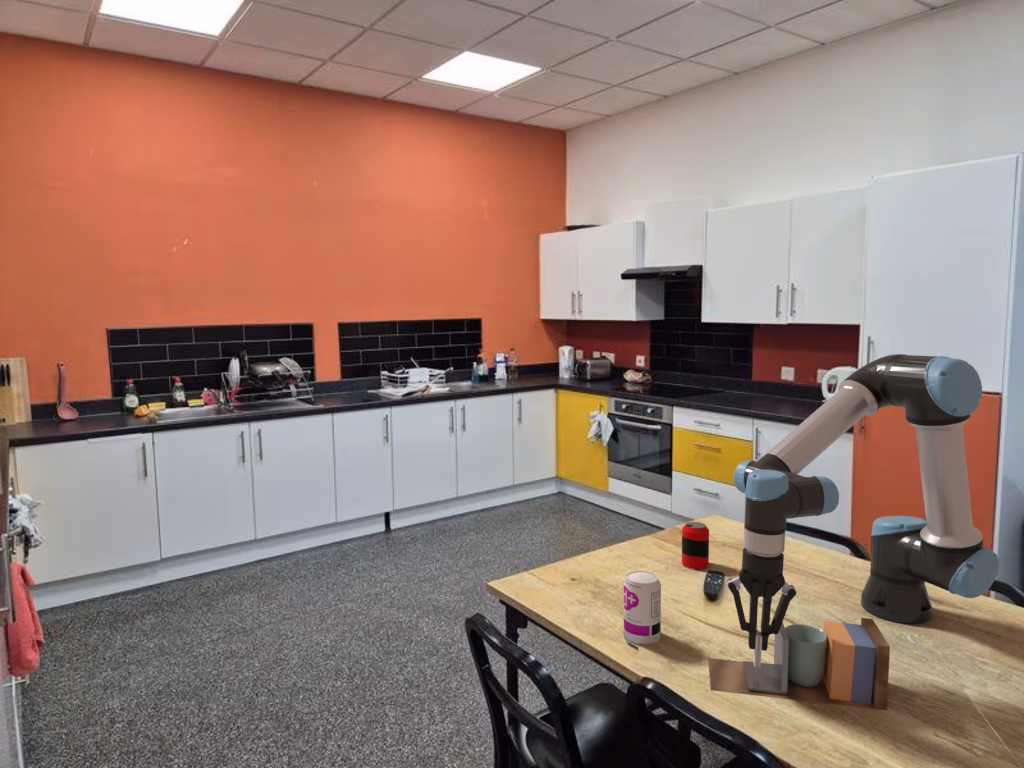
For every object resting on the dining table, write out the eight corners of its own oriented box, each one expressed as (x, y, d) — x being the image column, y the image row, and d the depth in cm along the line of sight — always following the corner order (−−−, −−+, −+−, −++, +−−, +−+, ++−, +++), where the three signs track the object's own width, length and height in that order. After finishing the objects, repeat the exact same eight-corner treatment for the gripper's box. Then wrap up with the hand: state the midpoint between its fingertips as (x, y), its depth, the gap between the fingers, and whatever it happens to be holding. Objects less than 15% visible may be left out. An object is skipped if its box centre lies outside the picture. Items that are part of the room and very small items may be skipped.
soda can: (676, 561, 195) (677, 522, 194) (698, 558, 198) (699, 519, 196) (690, 571, 188) (691, 530, 187) (713, 567, 191) (714, 527, 189)
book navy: (857, 677, 131) (862, 625, 130) (870, 703, 123) (875, 647, 121) (838, 674, 132) (843, 622, 131) (850, 700, 123) (855, 645, 122)
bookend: (779, 666, 135) (780, 615, 134) (787, 694, 126) (788, 639, 124) (743, 663, 137) (744, 612, 136) (748, 690, 127) (749, 636, 126)
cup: (776, 683, 130) (778, 634, 129) (789, 666, 136) (790, 620, 135) (818, 697, 125) (821, 647, 124) (829, 679, 131) (832, 631, 130)
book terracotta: (838, 675, 132) (843, 623, 131) (850, 701, 123) (855, 645, 122) (819, 672, 133) (824, 621, 132) (830, 698, 124) (834, 643, 123)
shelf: (868, 680, 132) (871, 617, 131) (887, 716, 121) (890, 647, 119) (707, 663, 140) (708, 603, 138) (710, 695, 128) (711, 630, 127)
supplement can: (633, 652, 145) (633, 586, 143) (617, 634, 153) (617, 572, 151) (667, 646, 147) (667, 581, 145) (649, 629, 155) (650, 567, 153)
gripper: (794, 546, 131) (787, 658, 134) (727, 540, 134) (722, 650, 137) (801, 560, 123) (793, 679, 126) (730, 553, 127) (724, 669, 129)
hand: (756, 664), depth 131 cm, fingers closed
